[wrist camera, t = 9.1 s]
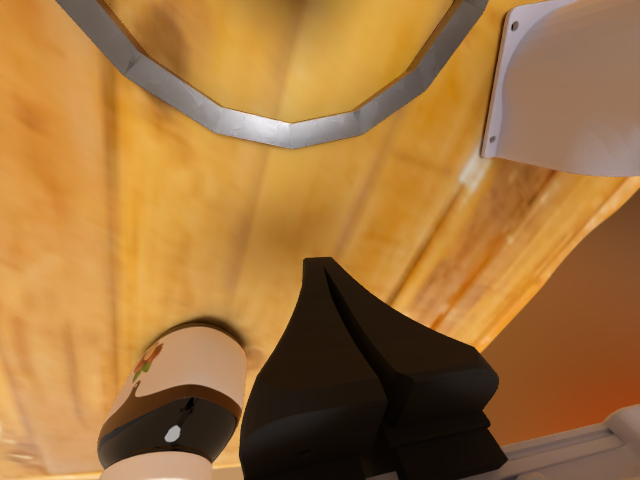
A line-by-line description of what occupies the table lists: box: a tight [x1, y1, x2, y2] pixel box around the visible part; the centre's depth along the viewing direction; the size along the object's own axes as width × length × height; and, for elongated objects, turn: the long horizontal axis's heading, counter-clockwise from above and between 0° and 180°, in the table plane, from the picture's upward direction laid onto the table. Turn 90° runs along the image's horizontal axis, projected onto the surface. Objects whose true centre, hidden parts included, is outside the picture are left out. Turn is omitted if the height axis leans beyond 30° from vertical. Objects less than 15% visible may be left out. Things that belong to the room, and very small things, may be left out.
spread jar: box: [97, 323, 247, 480], centre depth 21 cm, size 12×11×12 cm
